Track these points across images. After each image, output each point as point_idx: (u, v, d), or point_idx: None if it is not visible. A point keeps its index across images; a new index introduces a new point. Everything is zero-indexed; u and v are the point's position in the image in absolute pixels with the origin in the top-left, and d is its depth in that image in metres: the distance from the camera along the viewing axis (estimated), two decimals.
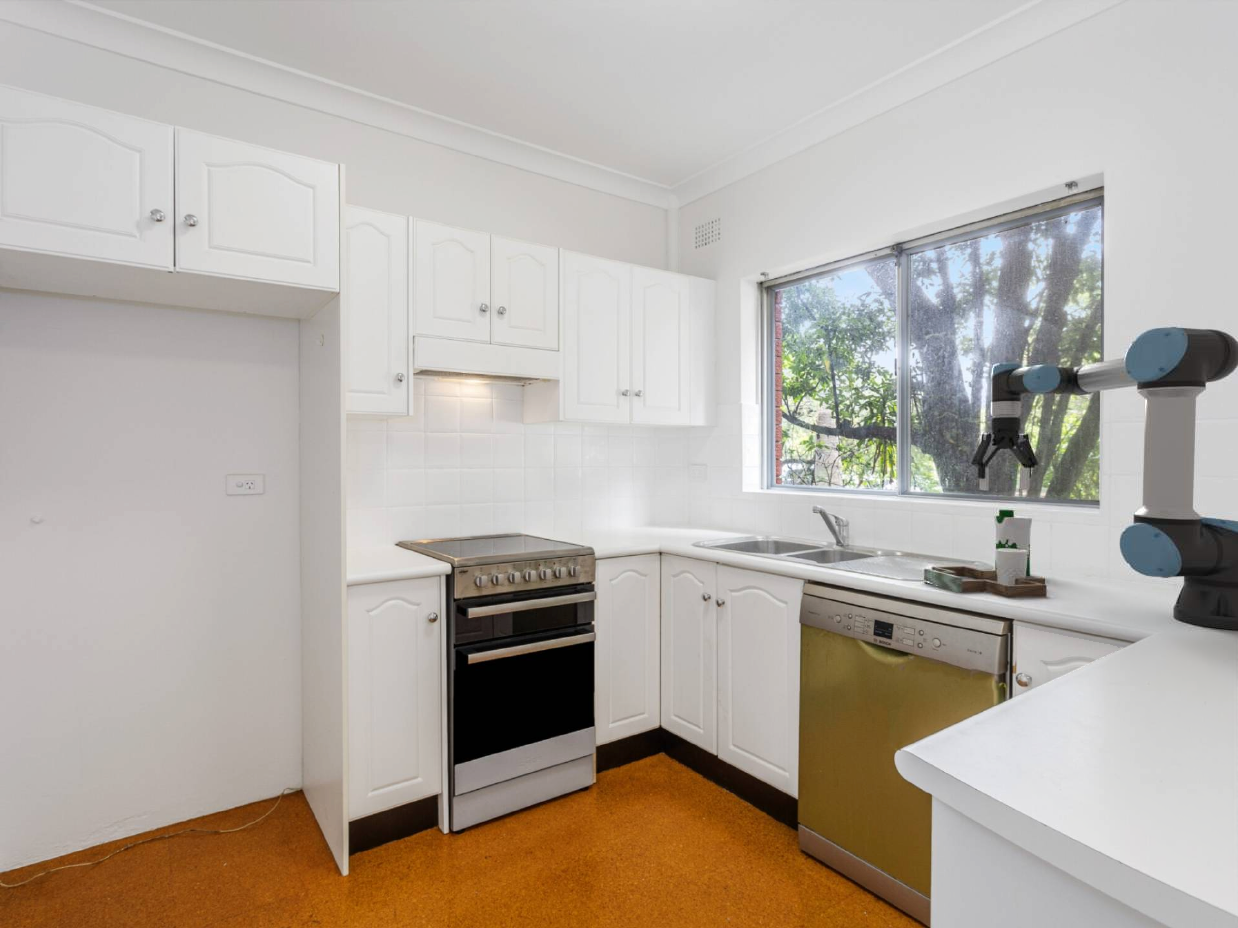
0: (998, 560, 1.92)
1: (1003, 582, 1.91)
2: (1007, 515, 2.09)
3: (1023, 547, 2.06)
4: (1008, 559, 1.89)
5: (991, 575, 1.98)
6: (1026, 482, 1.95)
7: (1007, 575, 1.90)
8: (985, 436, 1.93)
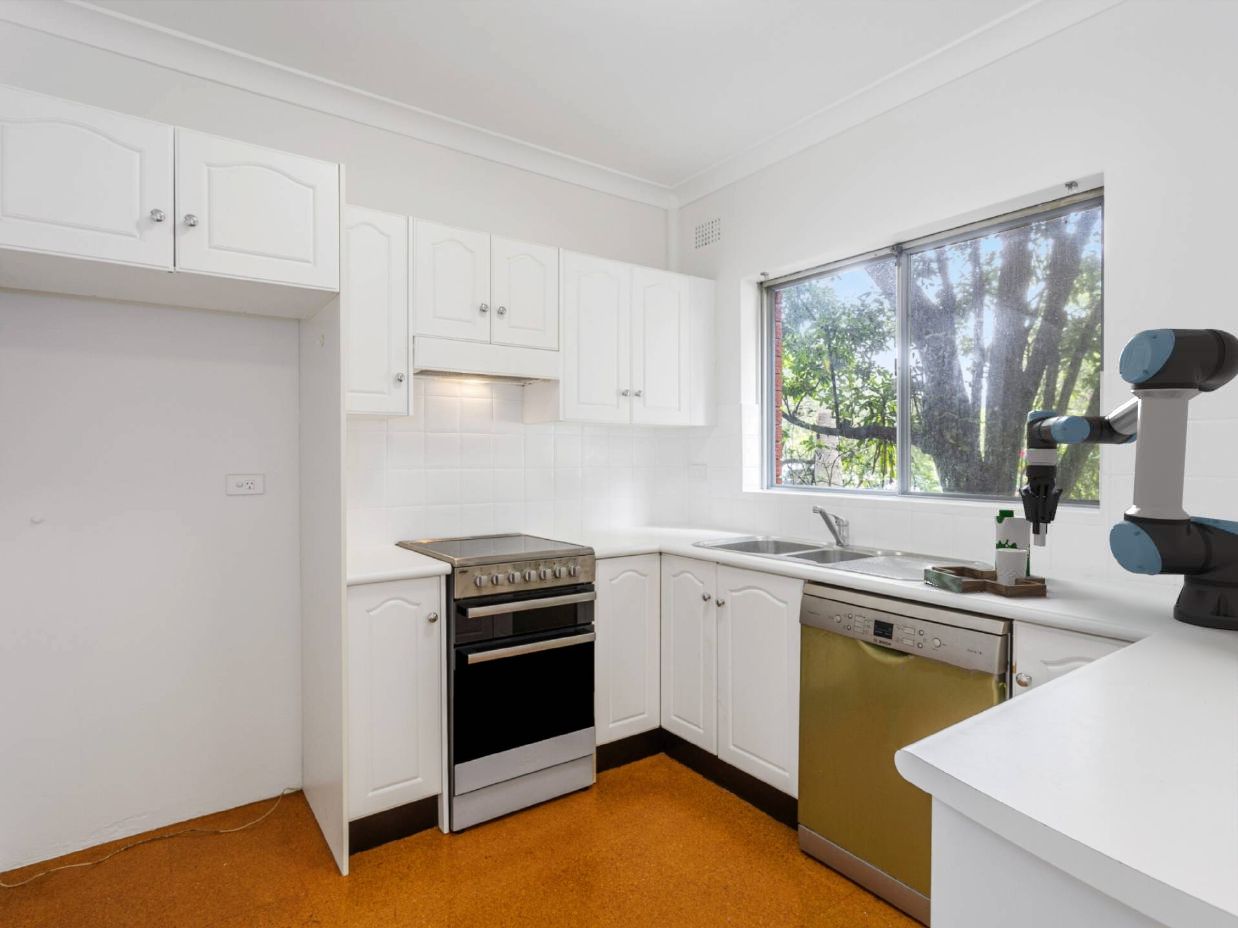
0: (998, 560, 1.92)
1: (1003, 582, 1.91)
2: (1007, 515, 2.09)
3: (1023, 547, 2.06)
4: (1008, 559, 1.89)
5: (991, 575, 1.98)
6: (1042, 538, 1.93)
7: (1007, 575, 1.90)
8: (1023, 492, 1.93)
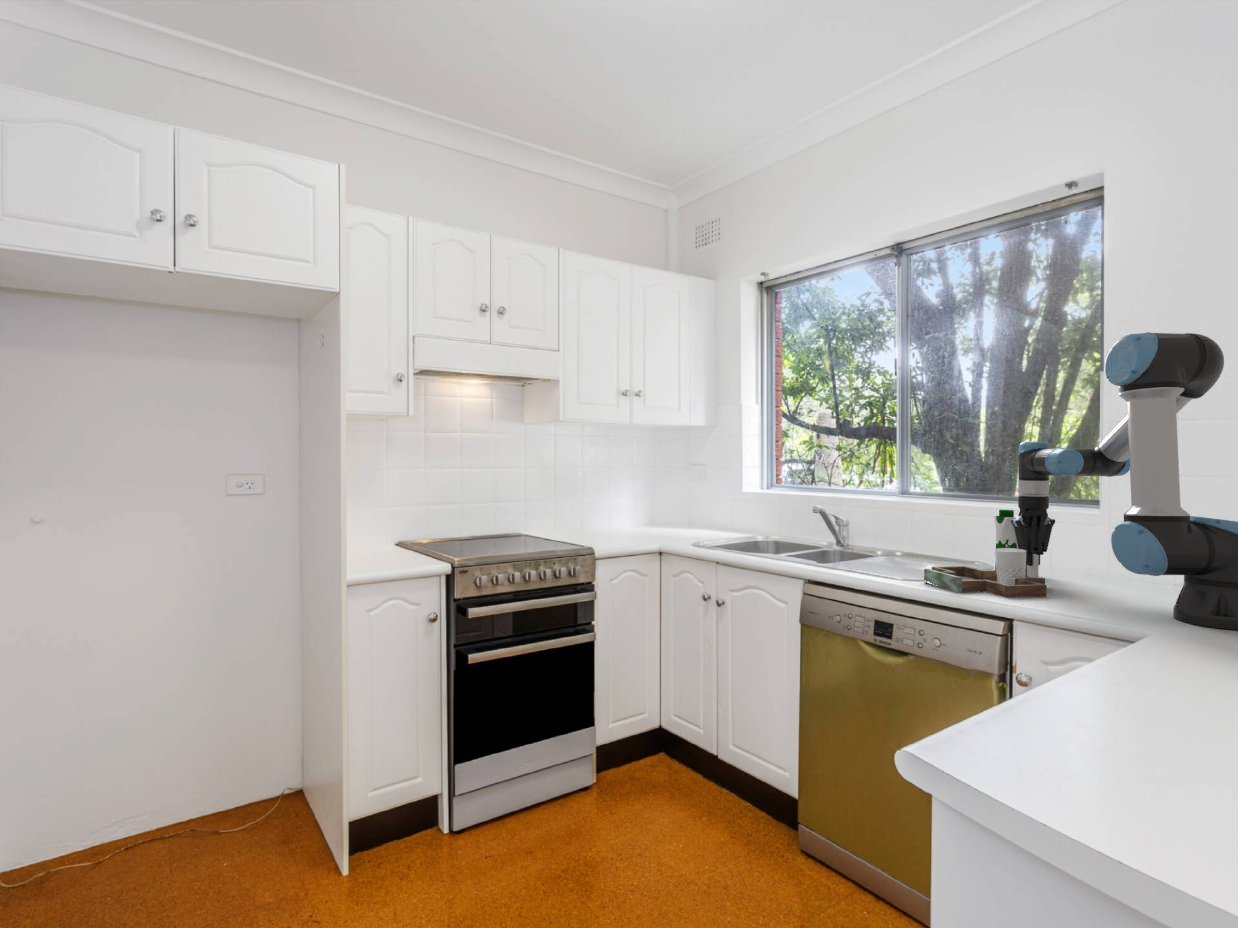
0: (997, 560, 1.92)
1: (1003, 582, 1.91)
2: (1007, 515, 2.09)
3: None
4: (1007, 559, 1.90)
5: (991, 575, 1.98)
6: (1035, 569, 1.93)
7: (1007, 575, 1.90)
8: (1015, 524, 1.92)
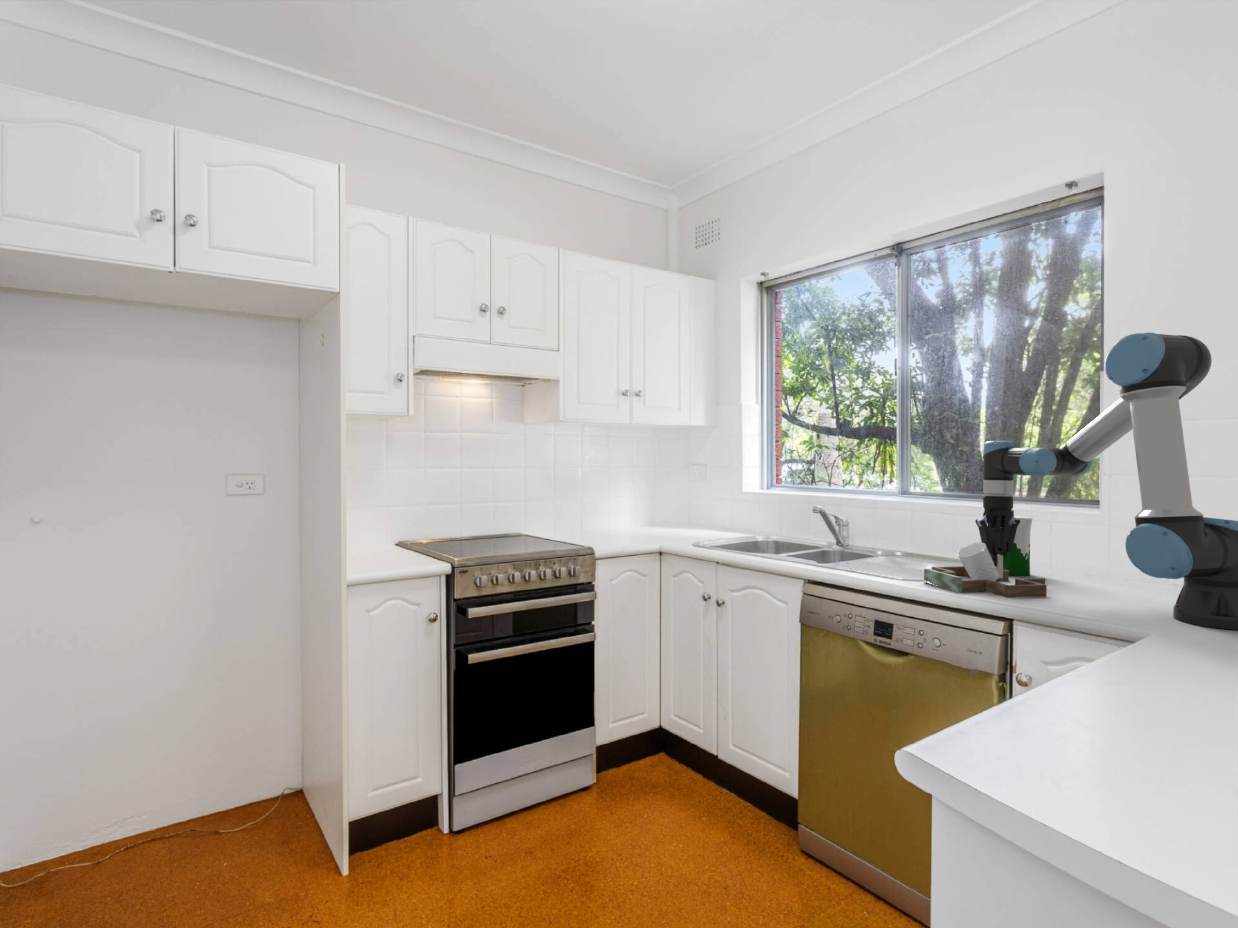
0: (964, 564, 1.90)
1: None
2: None
3: (1023, 547, 2.06)
4: (972, 563, 1.88)
5: None
6: (999, 570, 1.91)
7: (979, 576, 1.89)
8: (979, 524, 1.90)
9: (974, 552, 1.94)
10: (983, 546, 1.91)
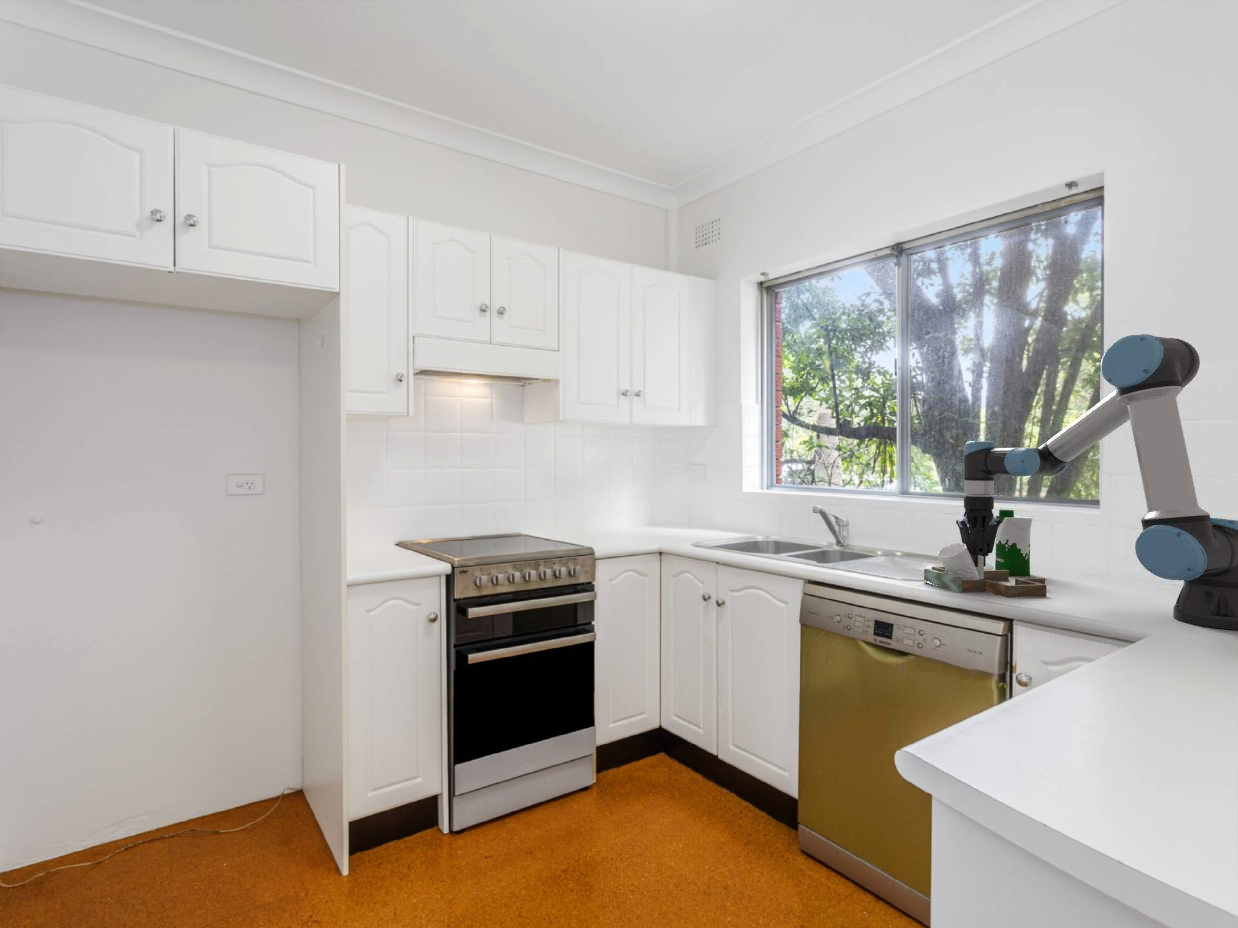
0: (944, 565, 1.89)
1: None
2: (1007, 515, 2.09)
3: (1023, 547, 2.06)
4: (952, 563, 1.87)
5: (991, 575, 1.98)
6: (980, 571, 1.90)
7: None
8: (960, 524, 1.89)
9: (955, 553, 1.92)
10: (963, 547, 1.90)
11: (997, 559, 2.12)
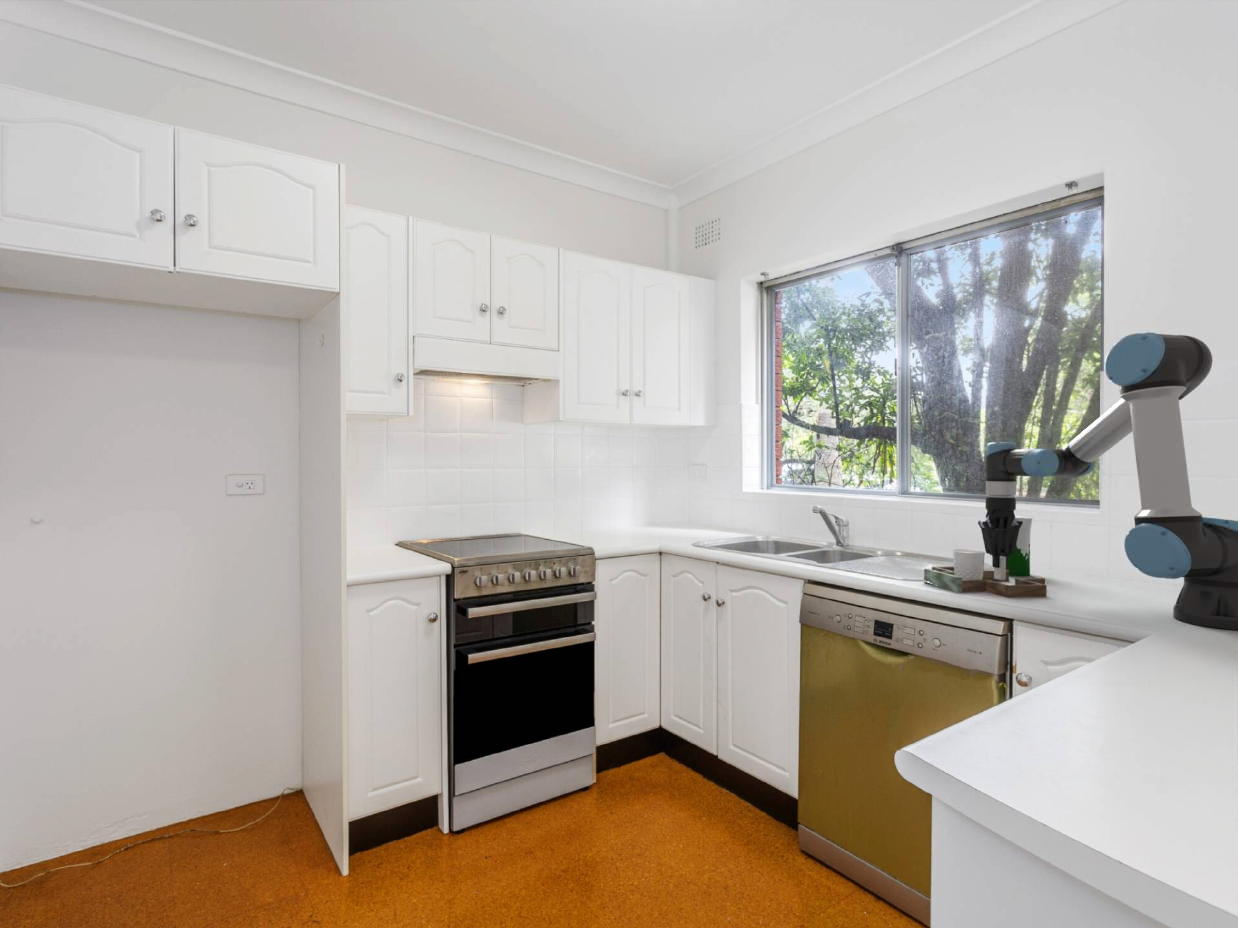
0: (955, 561, 1.90)
1: None
2: None
3: (1023, 547, 2.06)
4: (965, 560, 1.87)
5: (991, 575, 1.98)
6: (1002, 571, 1.91)
7: (964, 576, 1.87)
8: (982, 525, 1.90)
9: None
10: None
11: None
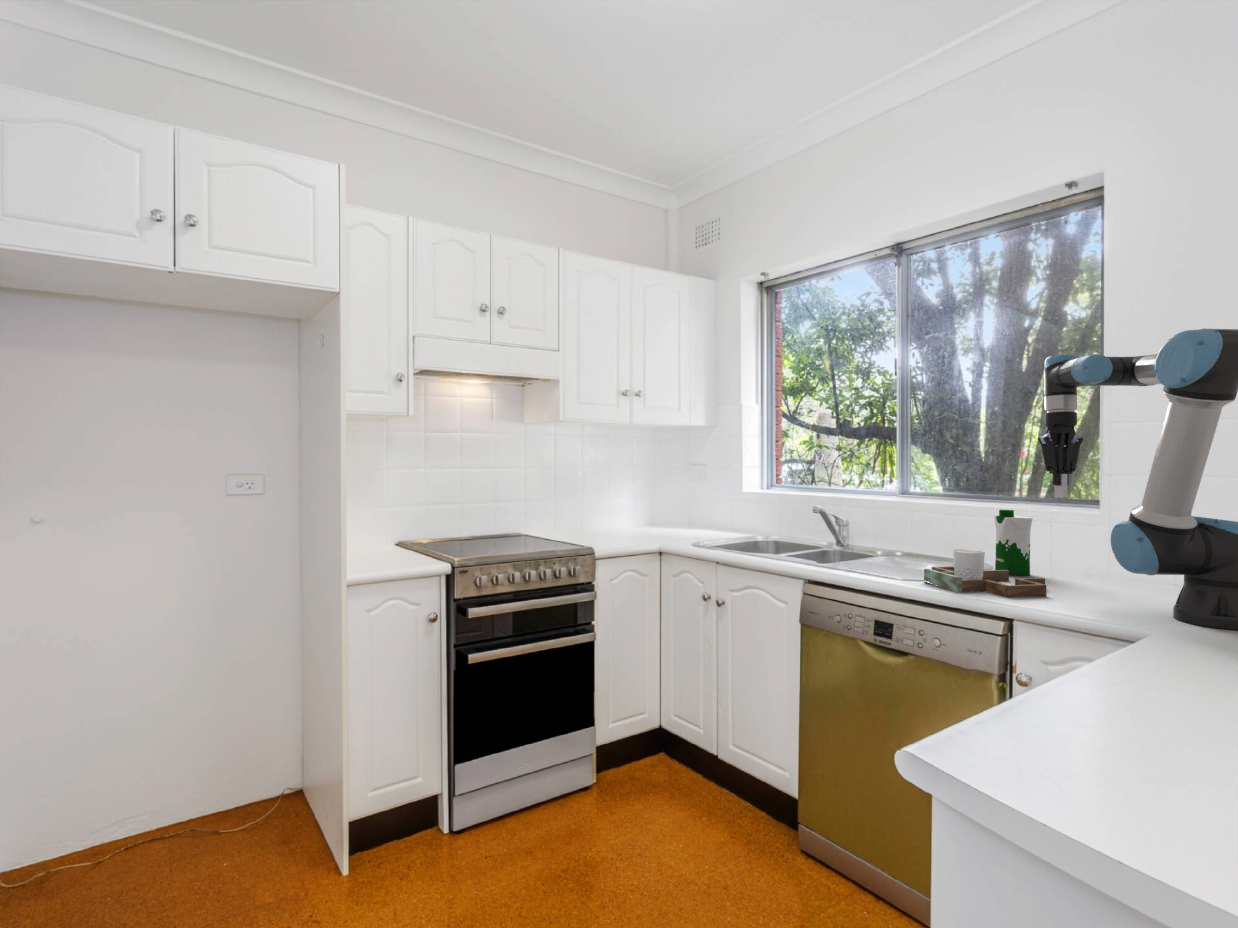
0: (955, 561, 1.90)
1: None
2: (1007, 515, 2.09)
3: (1023, 547, 2.06)
4: (965, 560, 1.87)
5: (991, 575, 1.98)
6: (1064, 489, 1.83)
7: (964, 576, 1.87)
8: (1043, 441, 1.83)
9: None
10: None
11: (997, 559, 2.12)
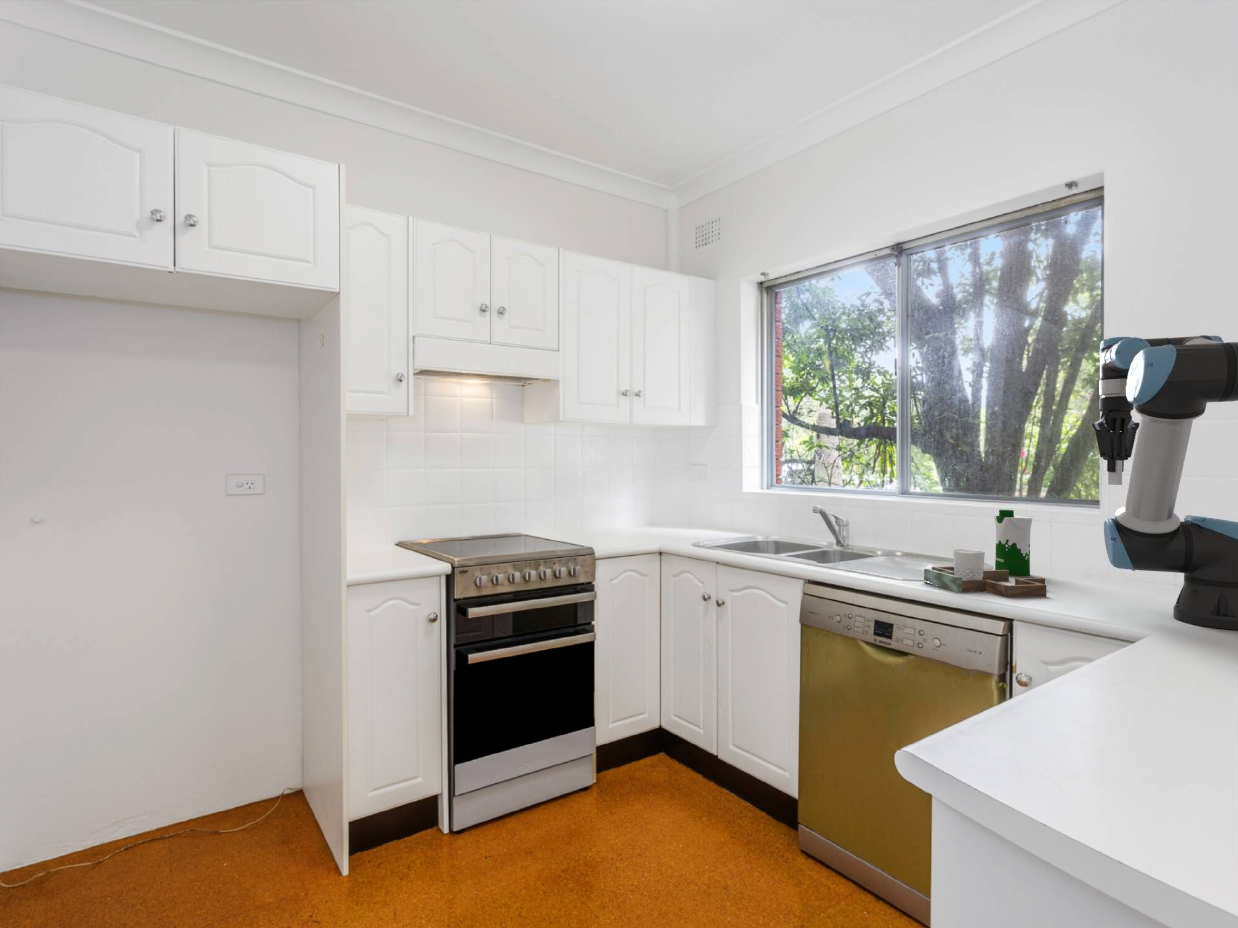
0: (955, 561, 1.90)
1: None
2: (1007, 515, 2.09)
3: (1023, 547, 2.06)
4: (965, 560, 1.87)
5: (991, 575, 1.98)
6: (1118, 476, 1.79)
7: (964, 576, 1.87)
8: (1097, 426, 1.78)
9: None
10: None
11: (997, 559, 2.12)
